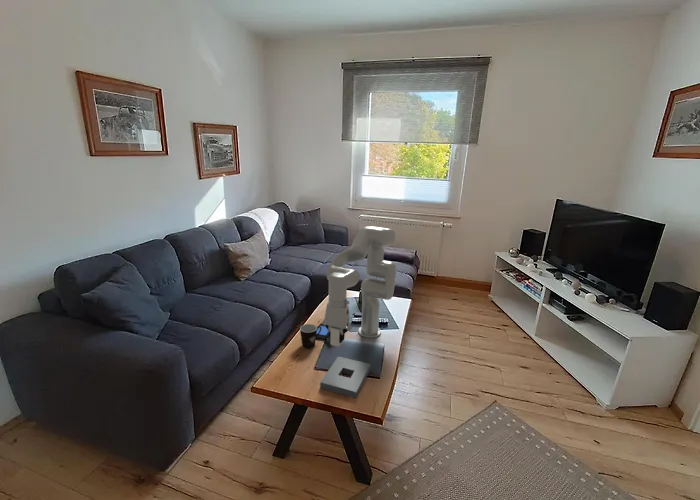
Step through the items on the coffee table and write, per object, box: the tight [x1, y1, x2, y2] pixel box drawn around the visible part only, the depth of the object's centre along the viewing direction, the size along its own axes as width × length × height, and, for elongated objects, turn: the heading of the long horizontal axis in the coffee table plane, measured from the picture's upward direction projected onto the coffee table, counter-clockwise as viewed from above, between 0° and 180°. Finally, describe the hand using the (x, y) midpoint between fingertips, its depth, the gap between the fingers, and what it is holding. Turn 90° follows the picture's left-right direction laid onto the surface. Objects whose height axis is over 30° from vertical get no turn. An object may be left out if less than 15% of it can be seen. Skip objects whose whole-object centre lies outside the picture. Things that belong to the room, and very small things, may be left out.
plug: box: [329, 327, 343, 348], centre depth 145 cm, size 4×4×8 cm
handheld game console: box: [316, 322, 330, 342], centre depth 182 cm, size 16×13×9 cm
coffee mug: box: [299, 323, 321, 350], centre depth 170 cm, size 12×9×10 cm
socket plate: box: [319, 356, 371, 399], centre depth 147 cm, size 20×16×3 cm
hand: (336, 339), depth 145 cm, fingers closed on plug, 4 cm apart
